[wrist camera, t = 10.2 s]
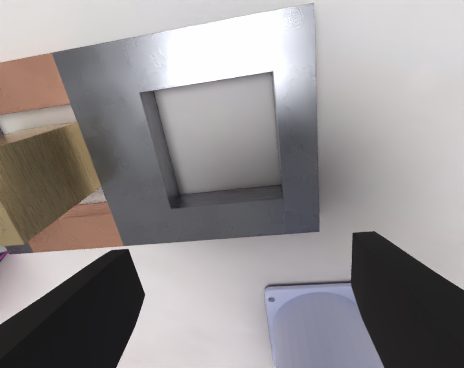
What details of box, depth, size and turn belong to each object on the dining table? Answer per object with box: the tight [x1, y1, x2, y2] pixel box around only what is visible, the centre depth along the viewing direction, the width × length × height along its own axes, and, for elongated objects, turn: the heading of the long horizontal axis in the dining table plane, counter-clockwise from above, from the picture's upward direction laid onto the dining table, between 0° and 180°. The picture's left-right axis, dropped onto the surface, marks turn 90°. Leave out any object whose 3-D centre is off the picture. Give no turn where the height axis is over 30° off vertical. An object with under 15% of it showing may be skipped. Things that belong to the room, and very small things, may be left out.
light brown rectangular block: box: [0, 122, 101, 246], centre depth 15 cm, size 4×4×7 cm
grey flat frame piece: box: [0, 3, 319, 254], centre depth 16 cm, size 12×22×2 cm, turn 98°
